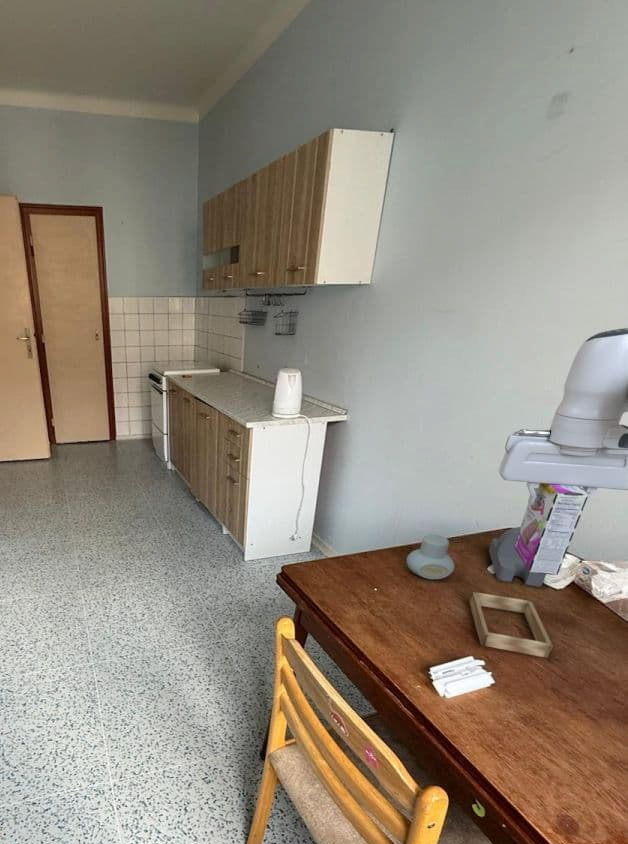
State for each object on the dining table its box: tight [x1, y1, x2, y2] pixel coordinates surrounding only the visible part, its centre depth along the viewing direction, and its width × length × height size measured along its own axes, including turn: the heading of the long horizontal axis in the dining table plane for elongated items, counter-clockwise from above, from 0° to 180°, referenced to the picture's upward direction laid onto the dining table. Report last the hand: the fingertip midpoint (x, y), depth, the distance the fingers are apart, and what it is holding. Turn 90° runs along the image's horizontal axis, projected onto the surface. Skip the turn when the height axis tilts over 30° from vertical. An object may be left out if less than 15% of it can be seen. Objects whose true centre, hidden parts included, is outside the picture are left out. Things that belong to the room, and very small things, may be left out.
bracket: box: [488, 526, 547, 587], centre depth 122 cm, size 10×18×11 cm, turn 156°
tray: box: [468, 591, 554, 659], centre depth 101 cm, size 12×17×3 cm
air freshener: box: [406, 534, 455, 581], centre depth 120 cm, size 11×8×10 cm
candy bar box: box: [514, 483, 589, 576], centre depth 89 cm, size 11×5×16 cm, turn 161°
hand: (553, 506), depth 88 cm, fingers closed on candy bar box, 5 cm apart
